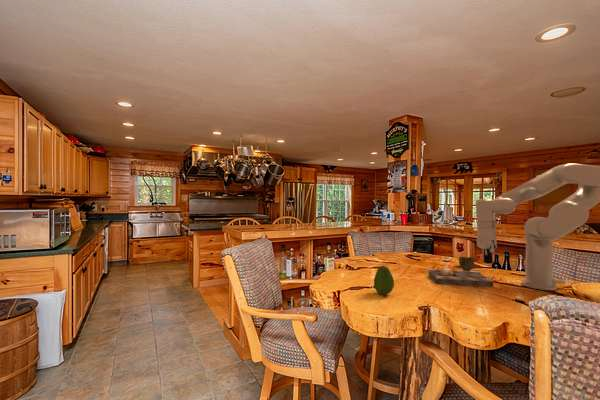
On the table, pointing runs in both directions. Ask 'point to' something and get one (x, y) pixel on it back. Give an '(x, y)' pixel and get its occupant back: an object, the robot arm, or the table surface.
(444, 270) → the maple ball
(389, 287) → the avocado
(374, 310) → the table surface
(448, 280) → the track board
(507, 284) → the table surface
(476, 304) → the table surface
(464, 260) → the cup
